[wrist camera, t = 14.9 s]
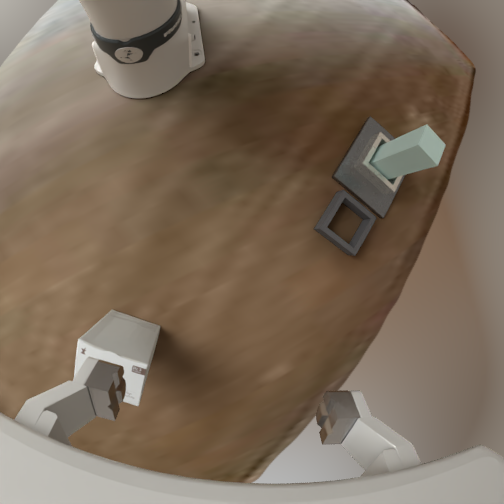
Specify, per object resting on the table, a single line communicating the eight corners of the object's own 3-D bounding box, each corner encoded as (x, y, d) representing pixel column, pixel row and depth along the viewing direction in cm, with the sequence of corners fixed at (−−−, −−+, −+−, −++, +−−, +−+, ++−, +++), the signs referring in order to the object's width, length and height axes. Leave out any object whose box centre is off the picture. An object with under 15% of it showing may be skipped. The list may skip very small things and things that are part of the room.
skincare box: (105, 341, 40) (68, 383, 25) (112, 306, 40) (74, 337, 25) (155, 359, 42) (138, 410, 27) (164, 324, 42) (148, 365, 27)
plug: (381, 181, 45) (437, 165, 31) (364, 166, 44) (418, 144, 31) (390, 163, 45) (445, 144, 31) (373, 148, 45) (426, 124, 31)
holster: (347, 254, 46) (355, 255, 43) (313, 229, 44) (320, 228, 42) (368, 218, 46) (376, 217, 43) (336, 192, 45) (343, 189, 42)
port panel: (380, 218, 46) (393, 217, 42) (331, 177, 45) (342, 172, 41) (410, 158, 47) (423, 153, 43) (367, 118, 45) (379, 110, 41)
